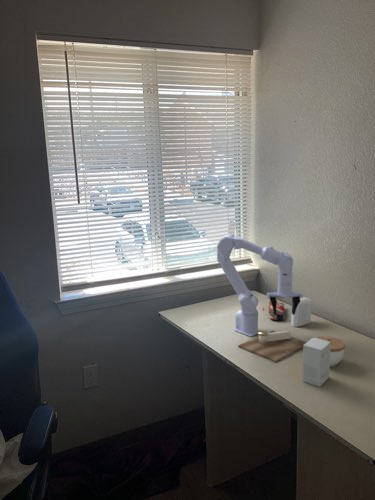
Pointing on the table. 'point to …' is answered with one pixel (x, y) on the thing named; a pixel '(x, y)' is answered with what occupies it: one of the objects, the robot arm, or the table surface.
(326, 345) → the small box
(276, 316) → the pencil case
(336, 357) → the lidded jar
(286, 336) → the peg lever
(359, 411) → the table surface
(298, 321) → the photo printer
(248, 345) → the board
